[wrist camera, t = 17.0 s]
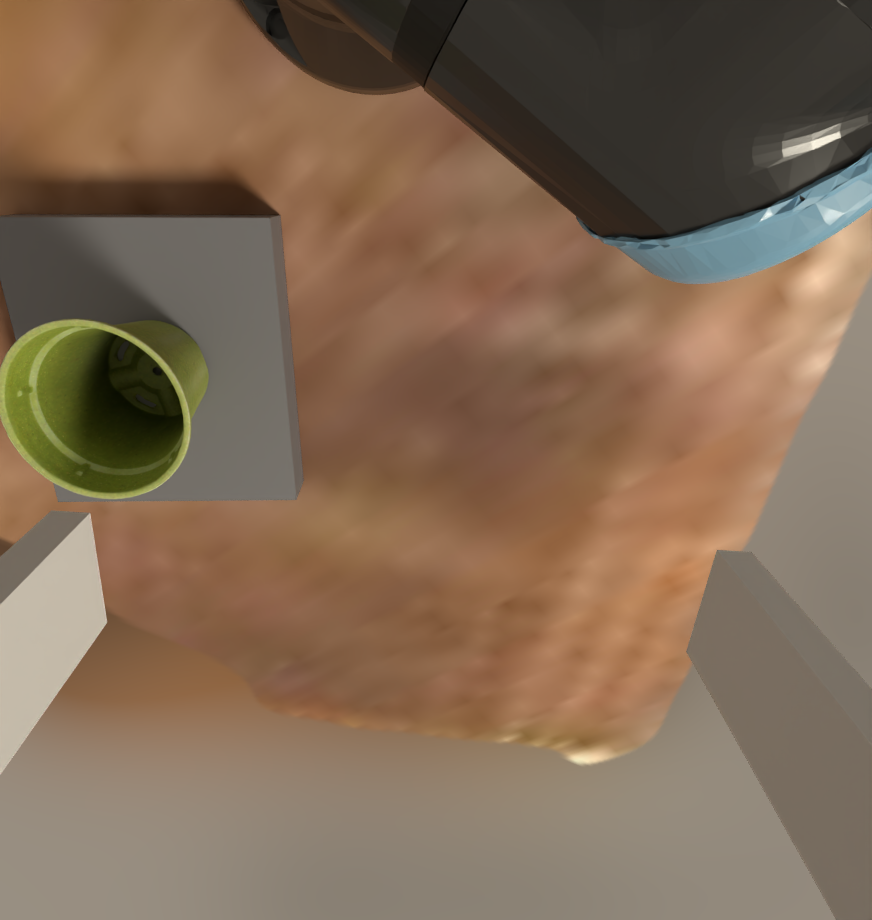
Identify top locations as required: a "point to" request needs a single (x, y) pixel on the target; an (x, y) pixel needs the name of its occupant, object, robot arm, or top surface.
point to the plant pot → (102, 403)
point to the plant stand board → (188, 308)
